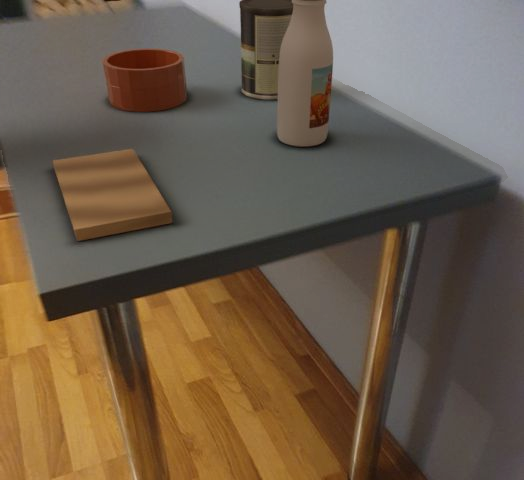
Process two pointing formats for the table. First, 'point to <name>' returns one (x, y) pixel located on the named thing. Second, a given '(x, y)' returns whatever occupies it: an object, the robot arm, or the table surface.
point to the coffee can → (262, 45)
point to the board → (109, 194)
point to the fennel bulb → (111, 0)
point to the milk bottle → (305, 76)
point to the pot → (145, 79)
